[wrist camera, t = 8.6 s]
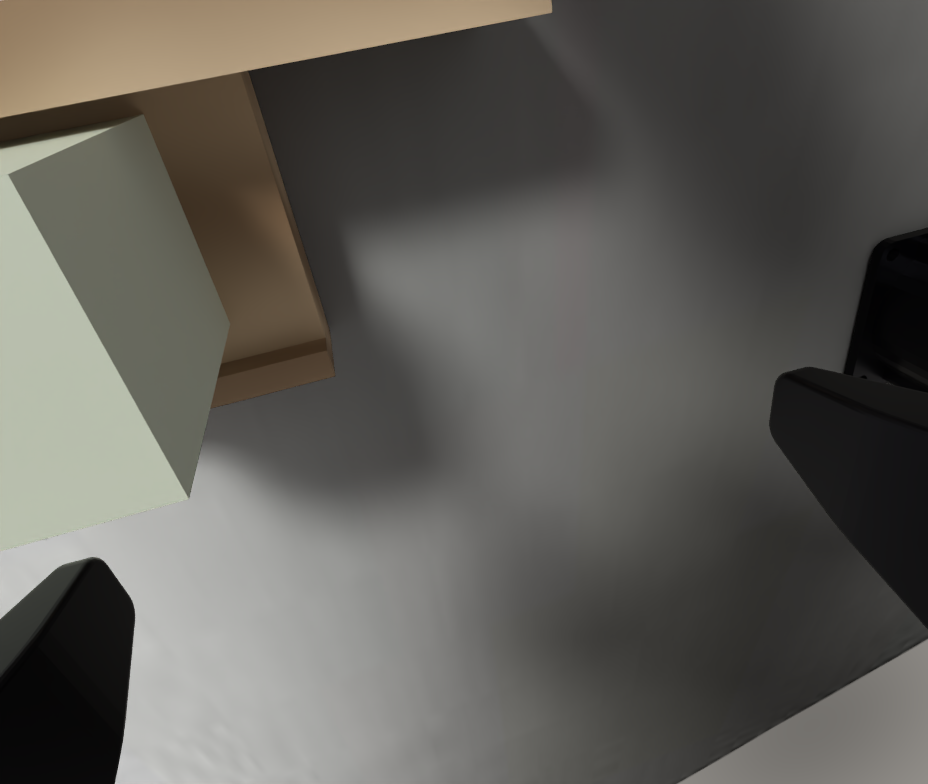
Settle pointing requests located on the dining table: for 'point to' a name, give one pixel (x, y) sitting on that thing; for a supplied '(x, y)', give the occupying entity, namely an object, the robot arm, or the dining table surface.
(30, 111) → the light brown t-shaped piece
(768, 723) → the dining table surface
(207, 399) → the block
